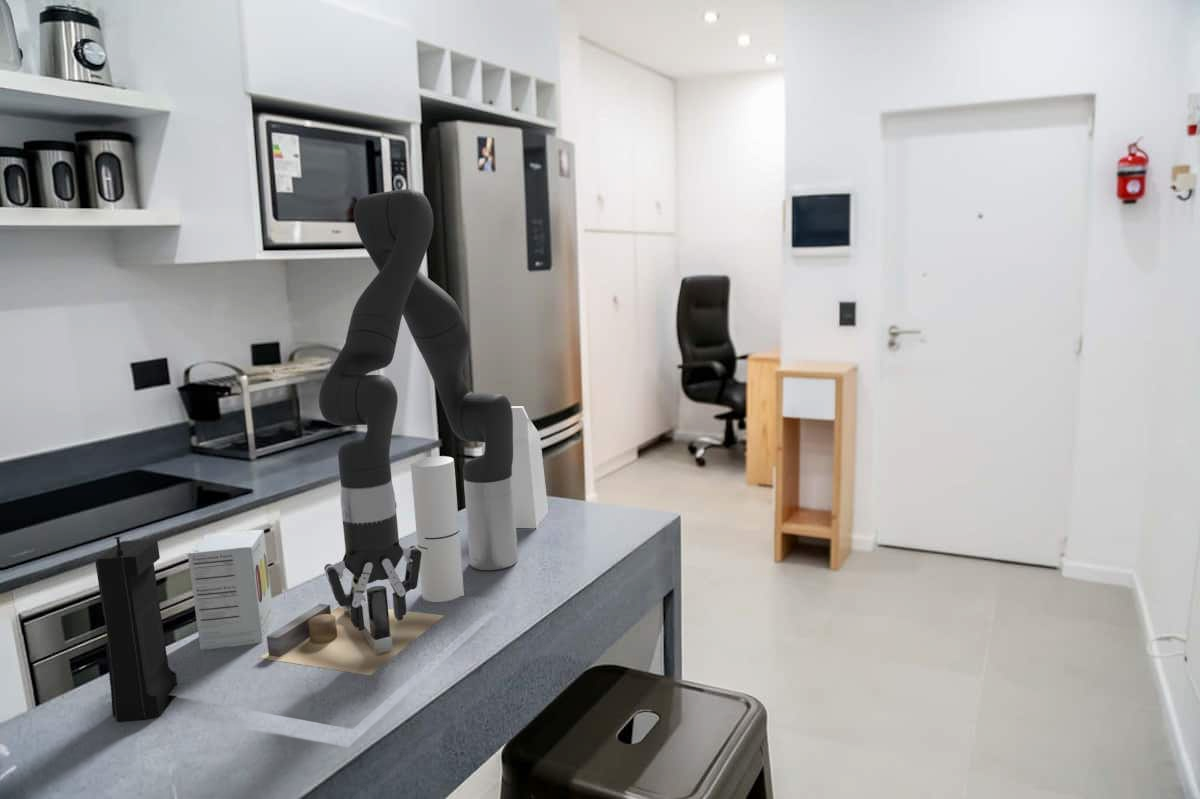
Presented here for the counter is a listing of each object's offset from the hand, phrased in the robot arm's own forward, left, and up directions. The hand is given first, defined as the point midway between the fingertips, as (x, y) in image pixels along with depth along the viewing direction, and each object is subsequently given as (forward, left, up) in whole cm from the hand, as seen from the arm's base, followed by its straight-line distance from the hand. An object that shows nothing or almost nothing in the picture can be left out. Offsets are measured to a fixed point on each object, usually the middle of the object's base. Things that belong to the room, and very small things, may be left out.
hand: (379, 622), depth 122 cm
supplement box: (+1, -26, -6) cm, 27 cm away
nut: (-1, -12, -4) cm, 12 cm away
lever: (-5, -6, -4) cm, 9 cm away
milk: (-65, -9, -6) cm, 66 cm away
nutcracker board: (-3, -7, -6) cm, 10 cm away
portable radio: (+20, -24, -6) cm, 32 cm away
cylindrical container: (-21, -2, -6) cm, 22 cm away
